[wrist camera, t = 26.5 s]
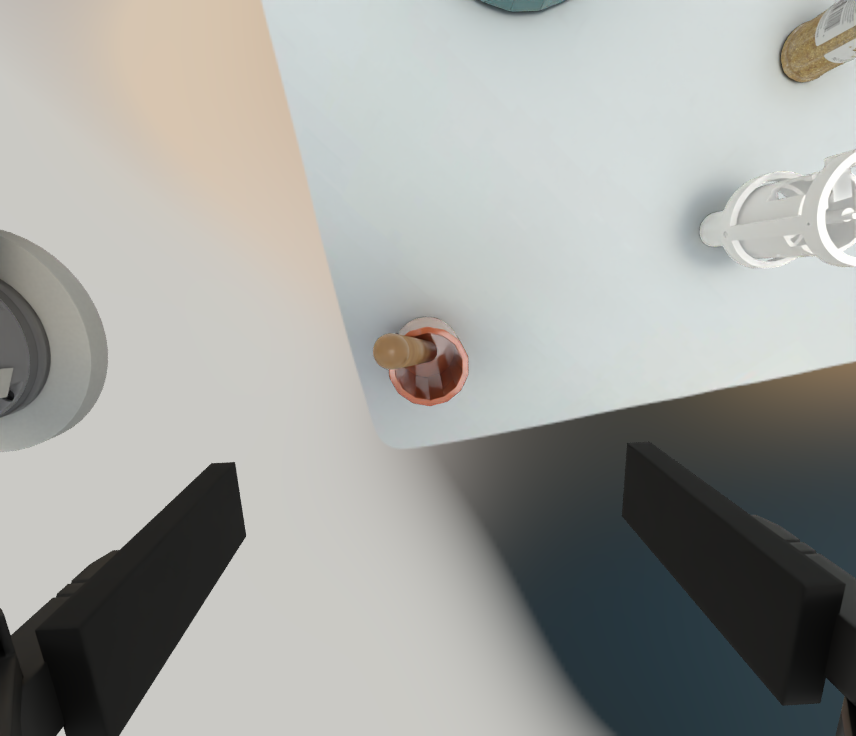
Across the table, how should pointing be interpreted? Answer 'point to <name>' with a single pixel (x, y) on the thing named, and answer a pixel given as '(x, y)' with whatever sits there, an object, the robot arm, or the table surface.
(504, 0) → the bowl
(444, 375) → the utensil pot
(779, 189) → the white cylindrical cage
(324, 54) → the table surface
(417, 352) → the stick
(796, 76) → the sprinkles bottle
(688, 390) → the table surface
